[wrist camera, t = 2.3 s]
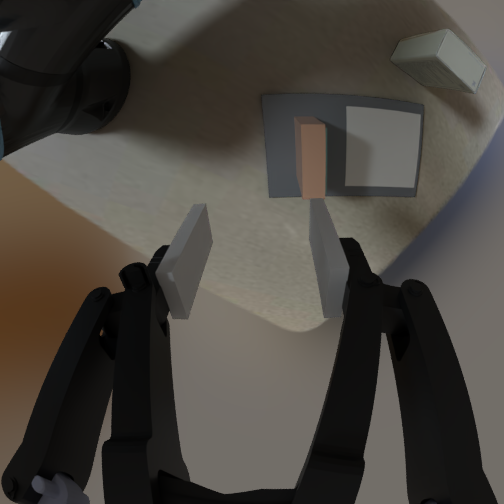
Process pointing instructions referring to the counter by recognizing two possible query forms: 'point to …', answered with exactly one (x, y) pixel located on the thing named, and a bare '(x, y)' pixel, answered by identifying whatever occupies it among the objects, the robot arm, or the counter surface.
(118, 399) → the robot arm
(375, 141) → the mat
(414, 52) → the skincare box
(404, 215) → the counter surface
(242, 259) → the counter surface
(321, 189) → the tile
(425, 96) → the counter surface
